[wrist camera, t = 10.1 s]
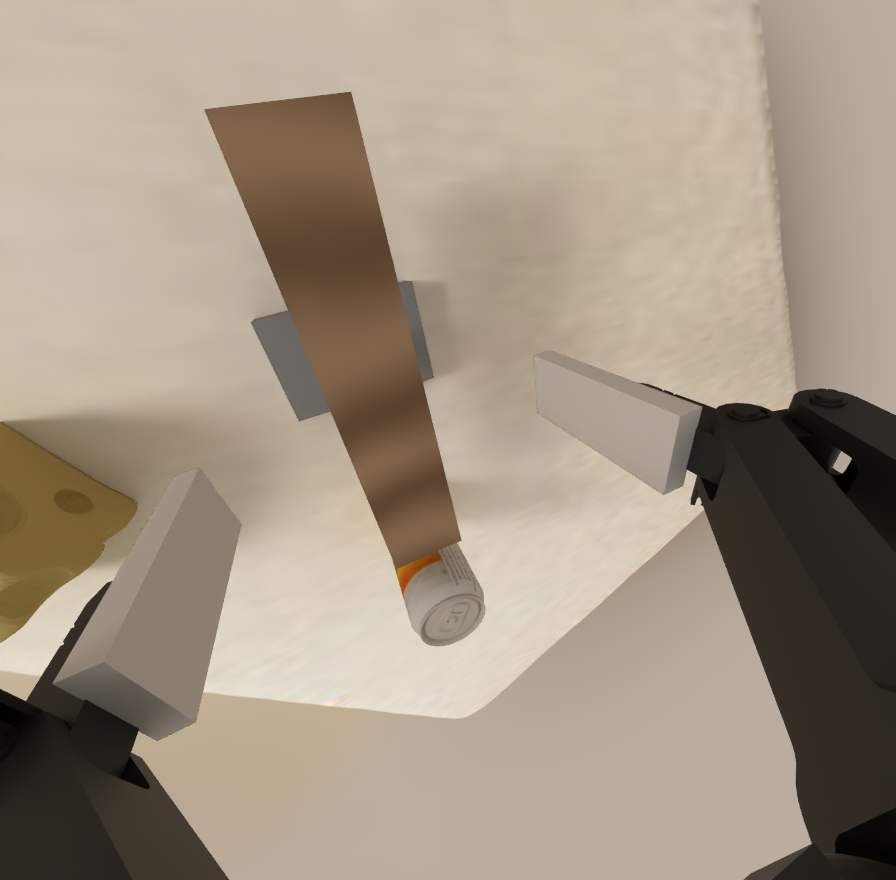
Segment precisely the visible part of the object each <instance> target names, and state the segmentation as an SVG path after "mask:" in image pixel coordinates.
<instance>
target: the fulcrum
mask: <svg viewBox="0 0 896 880" xmlns="http://www.w3.org/2000/svg"><path fill="white" fill-rule="evenodd" d="M398 285H399V289H400V293H401V297H402V301H403V305H404V309H405V313H406V317H407V321H408V325H409V330H410V334H411V338H412V342H413V346H414V350H415V354H416V358H417V362H418V366H419V370H420V374H421V378H422V381H425V380H428V379H431V378H434V376H433V372H432V367H431V363H430V359H429V354H428V350H427V346H426V341H425V337H424V333H423V328H422V324H421V319H420V315H419V311H418V306H417V302H416V298H415V293H414V289H413V285H412V282H411V281H403V282H399V283H398ZM251 324H252V326H253V328H254V330H255V332H256V334H257V336H258V338H259V340H260V342H261V344H262V346H263V348H264V350H265V353H266V355H267V357H268V359H269V361H270V363H271V365H272V367H273V369H274V371H275V373H276V375H277V377H278V379H279V381H280V383H281V385H282V387H283V390H284V392H285V394H286V396H287V398H288V400H289V402H290V404H291V406H292V408H293V410H294V412H295V414H296V416H297V418H298V420H299V421H302V420H305V419H308V418H311V417H314V416H317V415H320V414H323V413H326V412H330V409H329V406H328V404H327V401H326V399H325V397H324V394H323V392H322V389H321V387H320V385H319V382H318V380H317V378H316V375H315V373H314V370H313V368H312V366H311V363H310V361H309V358H308V356H307V354H306V351H305V349H304V346H303V344H302V342H301V339H300V337H299V335H298V332H297V330H296V327H295V325H294V323H293V320H292V318H291V315H290V313H289V311H284V312H280V313H277V314H273V315H269V316H265V317H261V318H257V319H254V320H253V321H252V322H251Z"/></svg>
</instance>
